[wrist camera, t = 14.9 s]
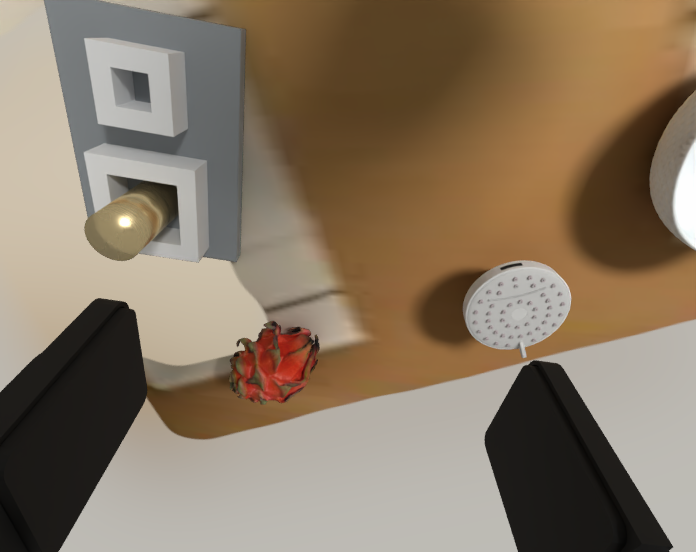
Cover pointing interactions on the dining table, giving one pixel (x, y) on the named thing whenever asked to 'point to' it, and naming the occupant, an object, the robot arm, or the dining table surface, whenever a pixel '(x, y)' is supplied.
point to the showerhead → (516, 305)
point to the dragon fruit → (273, 364)
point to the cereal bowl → (677, 174)
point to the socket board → (156, 116)
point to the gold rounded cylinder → (132, 220)
